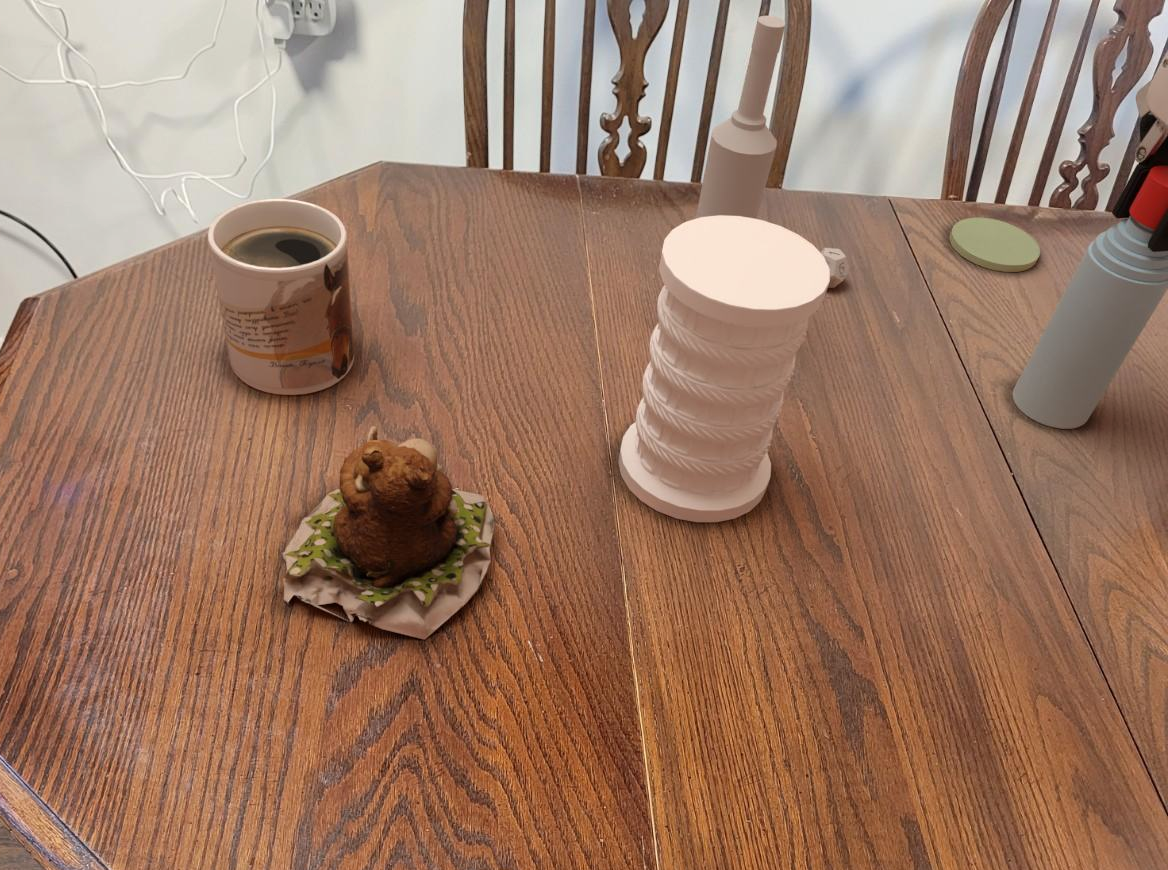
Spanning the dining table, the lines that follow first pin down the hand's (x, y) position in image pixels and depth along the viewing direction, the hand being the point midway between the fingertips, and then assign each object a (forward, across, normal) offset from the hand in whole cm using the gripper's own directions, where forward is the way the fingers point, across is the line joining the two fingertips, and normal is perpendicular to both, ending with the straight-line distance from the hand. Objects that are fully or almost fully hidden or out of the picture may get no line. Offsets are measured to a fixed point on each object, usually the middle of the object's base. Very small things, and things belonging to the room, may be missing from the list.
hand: (1148, 229), depth 78 cm
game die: (+17, +20, +13) cm, 29 cm away
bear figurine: (+17, -8, +58) cm, 61 cm away
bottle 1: (+17, +15, +27) cm, 35 cm away
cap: (-1, 0, 0) cm, 1 cm away
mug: (+17, +15, +62) cm, 66 cm away
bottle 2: (+16, 0, 0) cm, 16 cm away
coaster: (+16, +24, -8) cm, 30 cm away
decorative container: (+17, -4, +34) cm, 38 cm away
